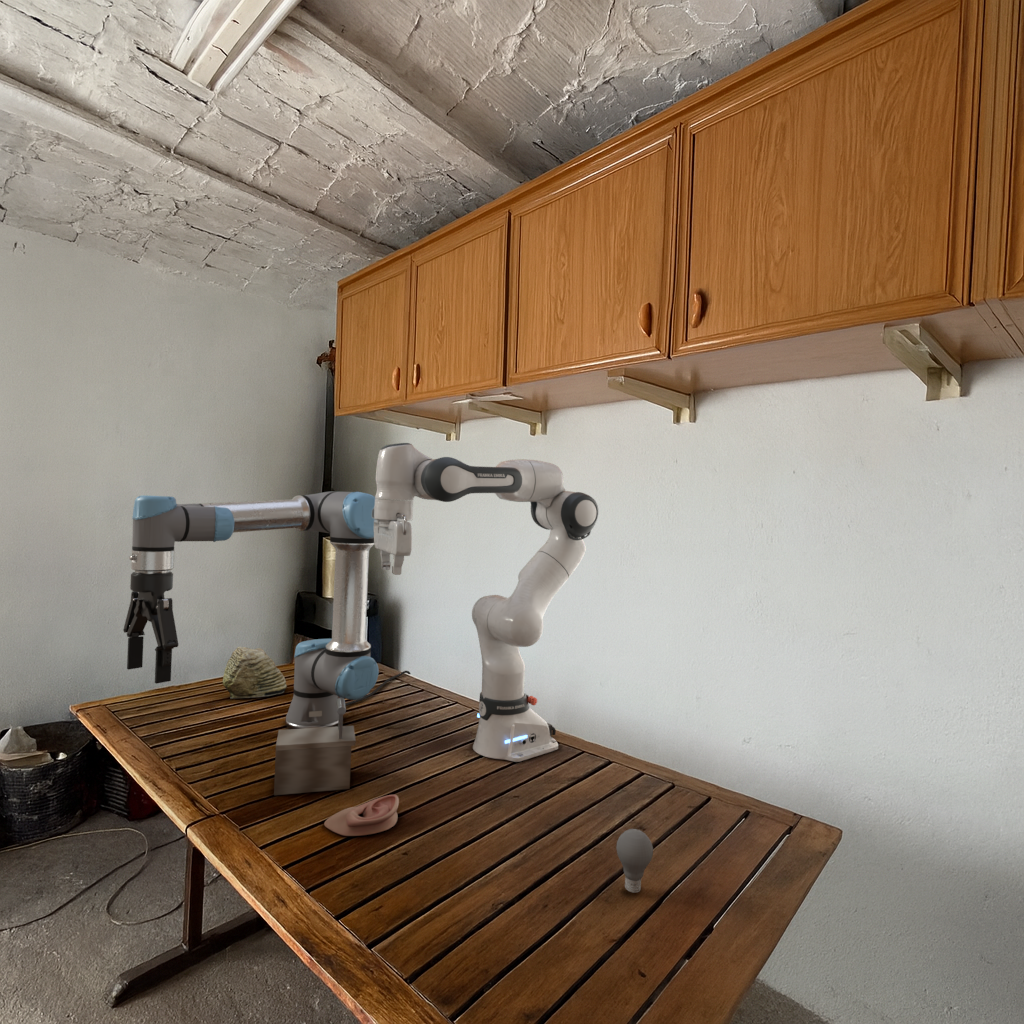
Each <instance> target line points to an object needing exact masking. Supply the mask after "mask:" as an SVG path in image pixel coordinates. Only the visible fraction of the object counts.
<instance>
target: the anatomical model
mask: <svg viewBox="0 0 1024 1024" xmlns="http://www.w3.org/2000/svg"><path fill="white" fill-rule="evenodd" d="M399 804H400V798H399V795H397V794H389V795H384V796H380V797H377V798H375V799H372V800H369V801H367V802H365V803H362V804H359V805H357V806H352V807H351V806H350V807H346V808H344V809H341V810H340V811H338V812H336V813H334V814H333V815H331V816H329V817H328V818H327V819H326V820H325V821H324V822H323V823H324V827H325V828H327V829H328V830H329V831H331V832H333V833H335V834H337V835H339V836H343V837H359V836H367V835H368V836H369V835H374V834H377V833H382V832H384V831H387V830H390V829H391V828H392V827H394V826H395V825H396V824H397V822H398V818H399V817H398V812H397V811H398V808H399Z"/></svg>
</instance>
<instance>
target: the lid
mask: <svg viewBox="0 0 1024 1024" xmlns="http://www.w3.org/2000/svg"><path fill="white" fill-rule="evenodd" d="M336 703H337V713H338V714H339V717H338V726H337V727H321V728H304V729H289V728H287V729H278V731H277V739H276V743H275V752H276V751H281V750H295V749H310V748H325V747H340V746H351V747H353V746H356V733H355V726H354V725H344V715H345V714H346V713H347V706H345V703H346V699H344V698H340V697H338V699H337V701H336Z"/></svg>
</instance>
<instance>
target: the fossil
mask: <svg viewBox="0 0 1024 1024" xmlns="http://www.w3.org/2000/svg"><path fill="white" fill-rule="evenodd" d="M222 676H223V677H222V685H223V687H224V688H225V690H226V691H228V693H229V698H230V699H250V698H264V697H271V696H275V695H281V694H284V693H285V691H286V689H287V687H288V686H287V680H286V678H285V676H284V674H283V673H282V672H281V669H279V668H278V667H277V665H276V663H275V662H274V660H273V659H272V658H271V657H270V656H269V655H268V654H267V653H266V652H265V650H264V649H263V648H260V647H258V648H251V647H247V646H246V647H245V646H238V647H237V648H236V649H235V650H233V651H232V653H231V656H230V657H229V659H228V660H227V663H226V666H225V668H224V671H223V675H222Z"/></svg>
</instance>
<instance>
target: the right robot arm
mask: <svg viewBox="0 0 1024 1024" xmlns="http://www.w3.org/2000/svg"><path fill="white" fill-rule="evenodd" d="M375 471H376V472H375V484H376V493H375V495H374V497H375V505H374V508H373V510H372V518H373V519H374V548H375V549H377V550H380V554H379V555H380V560H381V569H382V570H384V571H389V570H391V573H392V575H394V576H400V575H401V574H402V567H403V565H404V561H405V557H410V556H411V555H412V549H413V531H412V529H413V528H412V524H411V522H412V521H413V517H414V498H415V497H416V498H419V499H422V500H426V501H427V500H430V501H439V502H443V503H451V502H454V501H457V500H460V499H461V498H463V497H465V496H467V495H471V494H495V495H496V497H498V498H499V500H503V501H508V502H516V503H530V515H531V519H532V520H533V522H534V523H535V524H536V525H537V526H538V527H540V528H542V529H544V530H547V531H548V530H549V531H550V532H549V535H548V538H547V540H546V541H545V542H544V544H543V545H542V546H541V547H540V548H539V549H538V550H537V551H536V553H534V555H533V556H532V557H531V558H530V559H529V560H528V562H526V564H525V565H524V566H523V567H522V569H520V571H519V572H518V575H517V578H518V581H517V584H516V586H515V589H514V590H513V592H512V594H511V595H509V596H508V597H507V596H503V595H500V594H489V595H484V596H481V597H479V598H478V599H477V600H476V601H475V602H474V604H473V607H472V609H471V619H472V621H473V624H474V626H475V628H476V632H477V638H478V642H479V648H480V656H481V666H482V667H481V669H482V670H481V692H480V693H479V698H478V699H479V701H478V713H477V715H476V718H478V725H477V729H476V734H475V737H474V738H475V739H474V742H473V745H472V749H473V751H474V752H475V753H477V754H478V755H480V756H483V757H486V758H489V759H495V760H505V761H510V762H514V763H519V762H522V761H527V760H529V759H532V758H535V757H538V756H542V755H544V754H545V755H546V754H549V753H551V752H555V751H557V750H559V743H558V742H557V740H556V739H555V738H554V737H552V736H556V733H557V730H556V728H555V727H554V726H553V724H551V723H550V722H547V721H546V720H545V719H544V718H543V717H542V716H541V715H539V713H537V712H536V711H535V710H533V709H532V708H531V707H530V705H531V706H536V705H537V703H538V698H537V697H534V696H533V695H529V694H527V693H525V684H526V683H525V682H526V681H525V680H526V665H525V664H526V663H525V660H524V659H523V657H522V655H521V652H520V648H528V647H531V646H533V645H535V644H536V643H537V642H539V641H540V638H541V637H542V635H543V633H544V625H545V624H544V617H545V614H546V612H547V609H548V607H549V605H550V604H551V602H552V600H553V599H554V597H555V596H556V595H557V593H559V591H560V590H561V589H562V587H563V586H564V585H565V584H566V582H567V581H568V580H569V578H571V576H572V575H573V574H574V572H575V571H576V570H577V568H578V567H579V566H580V563H581V562H582V560H583V558H584V556H585V554H586V551H587V546H586V543H585V541H584V539H586V538H587V537H589V536H590V535H591V532H592V530H593V529H594V527H595V525H596V523H597V521H598V518H599V505H598V503H597V501H596V500H595V498H593V497H592V496H591V495H589V494H587V493H585V492H580V491H571V490H570V491H569V490H566V489H565V487H564V483H565V479H564V473H563V471H562V470H561V468H560V467H559V466H558V465H556V464H554V463H551V462H547V461H543V460H536V459H524V458H523V459H521V458H520V459H519V458H517V459H509V460H504V461H500V462H499V463H498V464H497V465H496V466H479V465H478V466H476V465H468V464H467V463H465V462H463V461H461V460H460V459H459V460H458V459H457V458H455V457H450V456H443V457H442V456H441V457H438V458H431V457H430V456H427V455H426V454H424V453H422V452H421V451H419V449H417V448H416V447H415V446H414V445H413V444H412V443H409V442H399V443H391V444H386V445H383V446H382V447H381V448H380V449H379V452H378V455H377V461H376V467H375ZM391 555H392V556H393V557H392V559H393V564H392V566H391V563H392V562H391Z"/></svg>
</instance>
